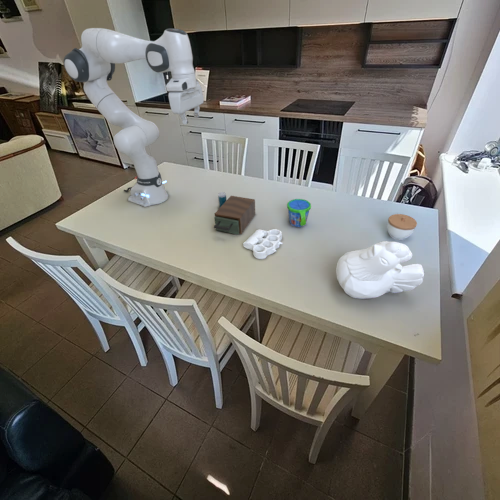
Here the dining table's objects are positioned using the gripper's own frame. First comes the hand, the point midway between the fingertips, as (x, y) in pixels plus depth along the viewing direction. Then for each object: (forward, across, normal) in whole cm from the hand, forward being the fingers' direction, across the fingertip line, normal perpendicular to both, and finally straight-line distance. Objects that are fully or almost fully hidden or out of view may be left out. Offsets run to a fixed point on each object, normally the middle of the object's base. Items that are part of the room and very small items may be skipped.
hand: (191, 120), depth 116 cm
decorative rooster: (+45, +33, +80) cm, 98 cm away
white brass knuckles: (+44, +18, +37) cm, 60 cm away
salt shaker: (+44, -6, +7) cm, 45 cm away
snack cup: (+44, -2, +46) cm, 64 cm away
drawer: (+43, +10, +18) cm, 48 cm away
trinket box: (+45, -5, +90) cm, 100 cm away
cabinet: (+44, +5, +18) cm, 48 cm away
